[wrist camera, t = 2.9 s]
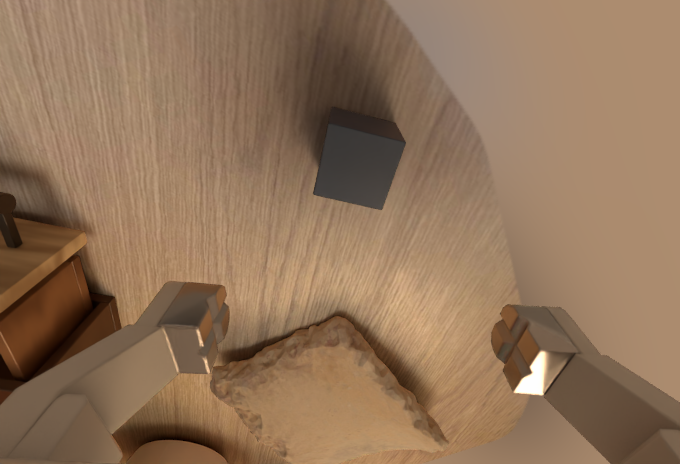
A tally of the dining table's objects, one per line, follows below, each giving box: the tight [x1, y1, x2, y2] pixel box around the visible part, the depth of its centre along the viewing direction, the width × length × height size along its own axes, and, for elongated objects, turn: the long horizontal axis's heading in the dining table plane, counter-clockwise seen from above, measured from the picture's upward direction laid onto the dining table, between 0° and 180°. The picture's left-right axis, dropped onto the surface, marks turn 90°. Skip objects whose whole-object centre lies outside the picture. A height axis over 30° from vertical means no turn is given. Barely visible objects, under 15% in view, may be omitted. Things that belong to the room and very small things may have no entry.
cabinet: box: [0, 293, 121, 405], centre depth 29 cm, size 15×13×10 cm
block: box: [313, 107, 406, 210], centre depth 20 cm, size 4×4×4 cm
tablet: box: [210, 316, 448, 464], centre depth 35 cm, size 24×8×20 cm
